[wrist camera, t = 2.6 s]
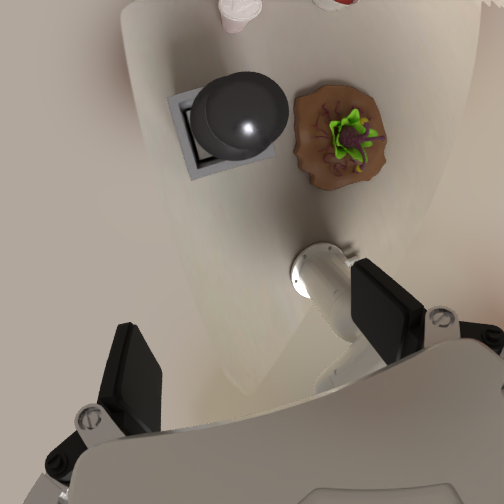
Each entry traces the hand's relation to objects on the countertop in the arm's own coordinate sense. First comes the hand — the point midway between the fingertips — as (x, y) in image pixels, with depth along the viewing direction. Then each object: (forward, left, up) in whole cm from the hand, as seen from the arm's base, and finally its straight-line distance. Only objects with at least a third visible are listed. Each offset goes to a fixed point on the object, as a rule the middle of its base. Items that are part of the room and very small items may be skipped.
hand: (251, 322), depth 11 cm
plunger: (-3, -8, -30) cm, 31 cm away
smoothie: (-11, -27, -40) cm, 49 cm away
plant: (-25, -2, -40) cm, 48 cm away
